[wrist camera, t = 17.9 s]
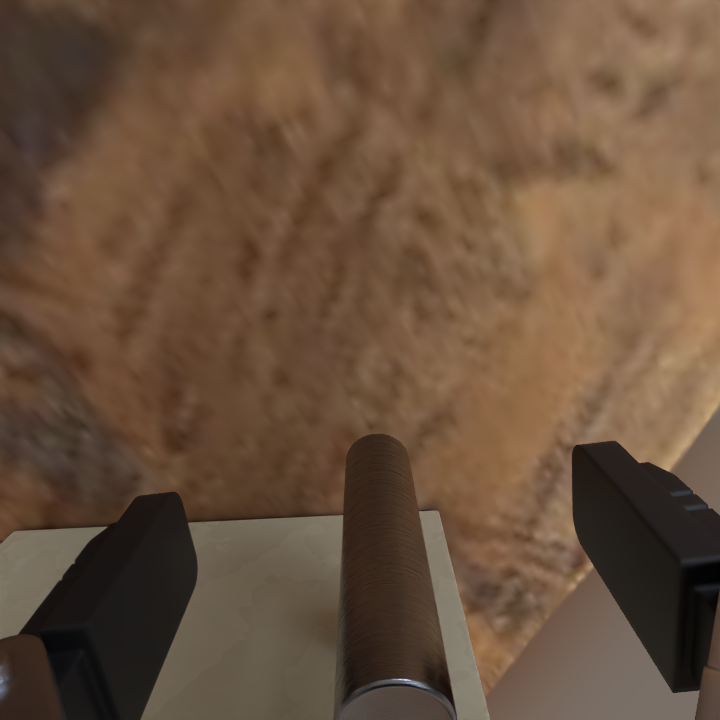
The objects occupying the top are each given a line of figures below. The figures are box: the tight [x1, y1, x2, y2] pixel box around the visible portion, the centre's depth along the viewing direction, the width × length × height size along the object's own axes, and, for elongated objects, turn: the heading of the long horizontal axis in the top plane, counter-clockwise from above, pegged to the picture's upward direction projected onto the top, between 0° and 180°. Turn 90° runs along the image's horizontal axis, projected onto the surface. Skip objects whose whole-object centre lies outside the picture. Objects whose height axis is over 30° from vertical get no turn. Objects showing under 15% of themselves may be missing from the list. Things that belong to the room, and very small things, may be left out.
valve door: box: [0, 434, 490, 720], centre depth 13 cm, size 7×18×18 cm, turn 93°
